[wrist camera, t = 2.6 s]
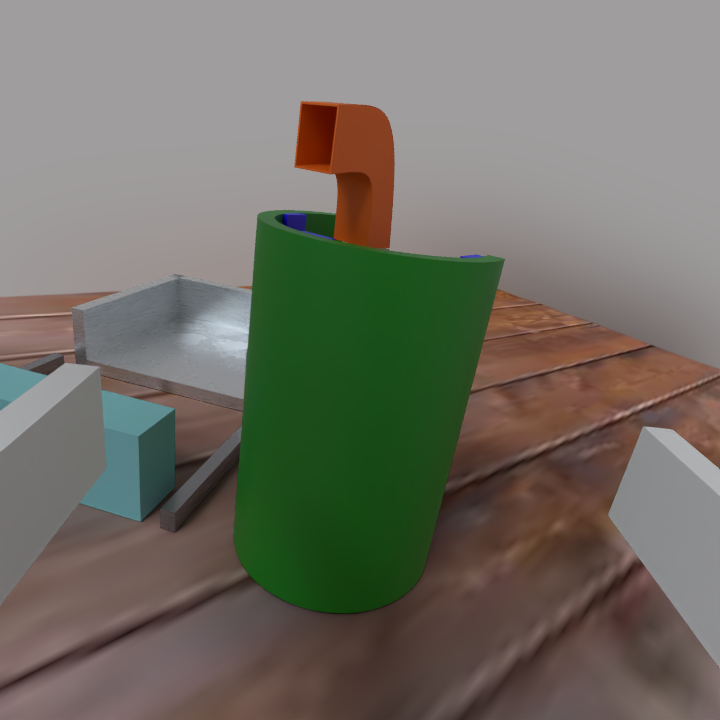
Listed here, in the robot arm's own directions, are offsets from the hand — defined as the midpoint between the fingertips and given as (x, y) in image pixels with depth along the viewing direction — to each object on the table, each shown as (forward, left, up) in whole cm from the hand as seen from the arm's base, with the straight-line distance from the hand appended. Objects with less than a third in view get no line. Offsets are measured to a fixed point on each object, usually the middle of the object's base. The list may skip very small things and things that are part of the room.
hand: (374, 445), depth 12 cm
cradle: (-19, +26, -12) cm, 34 cm away
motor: (-3, +10, -12) cm, 16 cm away
